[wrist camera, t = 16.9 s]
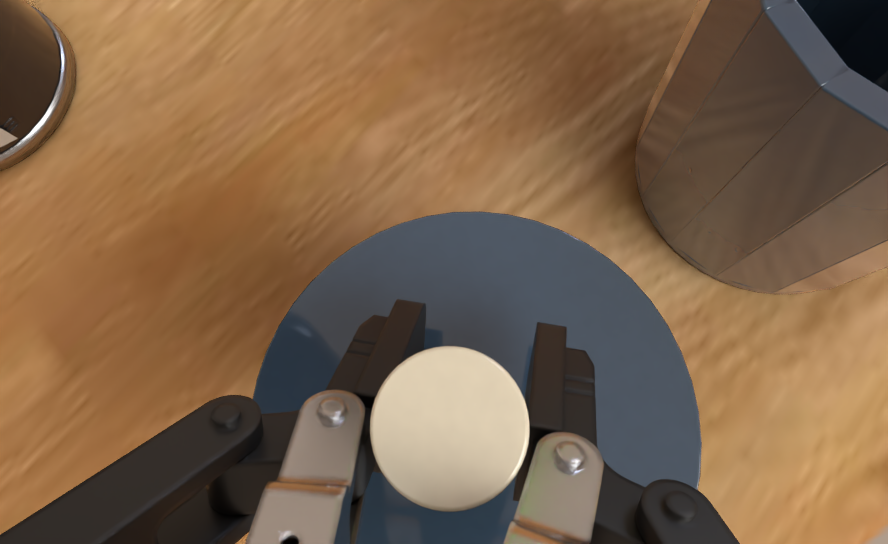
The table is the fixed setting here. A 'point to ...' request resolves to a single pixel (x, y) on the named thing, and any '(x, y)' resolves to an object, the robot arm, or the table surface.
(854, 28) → the blue handleless cup
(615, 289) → the lid
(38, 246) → the table surface
